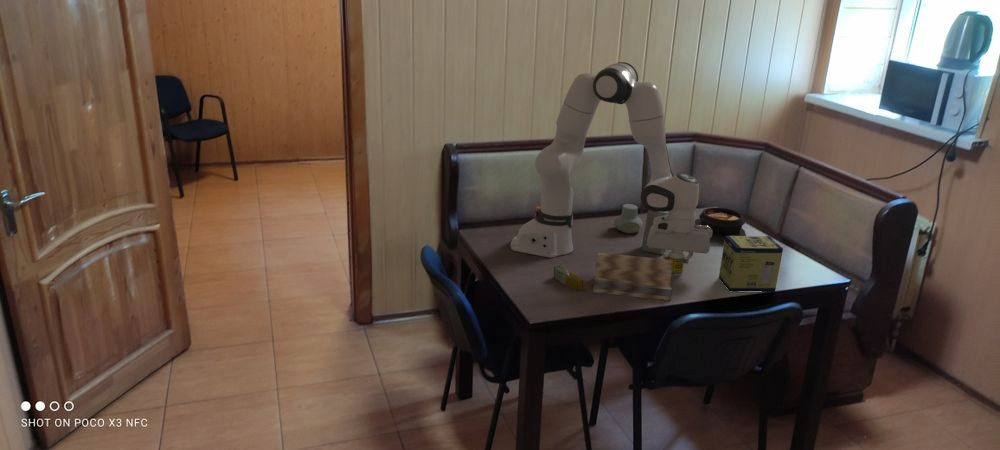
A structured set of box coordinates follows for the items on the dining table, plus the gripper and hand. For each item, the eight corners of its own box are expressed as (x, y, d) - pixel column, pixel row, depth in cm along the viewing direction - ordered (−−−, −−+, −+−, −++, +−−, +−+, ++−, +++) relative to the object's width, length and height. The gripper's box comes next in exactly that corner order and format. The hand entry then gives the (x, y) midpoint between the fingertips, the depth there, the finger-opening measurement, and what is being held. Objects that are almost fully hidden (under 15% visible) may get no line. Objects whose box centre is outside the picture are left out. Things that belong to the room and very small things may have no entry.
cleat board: (592, 291, 227) (595, 265, 224) (594, 277, 237) (597, 252, 234) (670, 300, 224) (674, 274, 220) (669, 285, 234) (672, 260, 231)
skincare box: (641, 251, 260) (646, 209, 254) (645, 244, 266) (650, 204, 260) (664, 255, 257) (670, 213, 251) (668, 248, 263) (673, 207, 258)
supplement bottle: (673, 268, 247) (677, 242, 243) (685, 274, 242) (689, 248, 239) (662, 271, 244) (665, 245, 240) (674, 277, 240) (677, 251, 236)
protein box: (717, 278, 241) (724, 235, 235) (762, 278, 242) (770, 235, 236) (728, 292, 231) (736, 247, 225) (776, 292, 232) (784, 248, 227)
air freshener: (615, 234, 275) (617, 209, 271) (611, 226, 283) (614, 202, 279) (643, 235, 275) (646, 210, 271) (639, 227, 283) (642, 203, 279)
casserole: (682, 224, 288) (685, 204, 285) (723, 221, 293) (727, 201, 290) (714, 248, 266) (718, 226, 263) (759, 244, 270) (762, 224, 267)
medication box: (552, 278, 236) (553, 266, 235) (559, 276, 238) (559, 265, 236) (577, 292, 227) (577, 280, 226) (583, 290, 229) (584, 278, 227)
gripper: (712, 223, 238) (706, 261, 243) (649, 217, 241) (645, 255, 246) (714, 229, 232) (708, 269, 237) (649, 223, 235) (645, 262, 240)
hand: (675, 261), depth 242 cm, fingers closed on supplement bottle, 5 cm apart
